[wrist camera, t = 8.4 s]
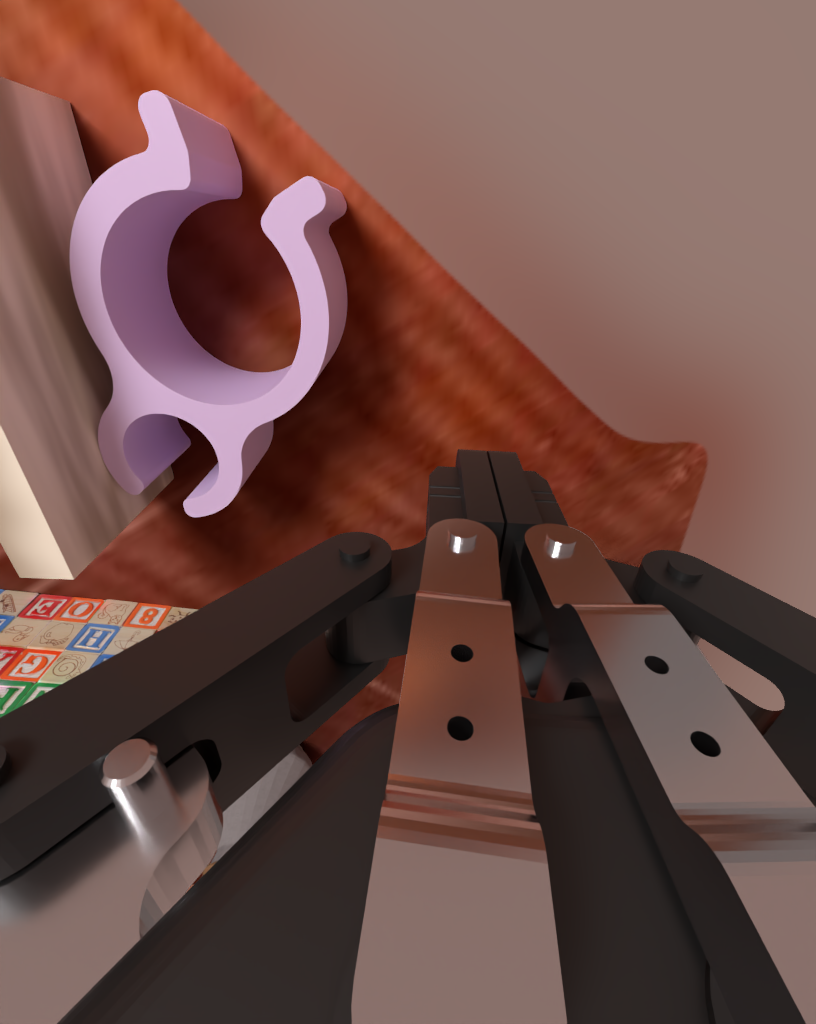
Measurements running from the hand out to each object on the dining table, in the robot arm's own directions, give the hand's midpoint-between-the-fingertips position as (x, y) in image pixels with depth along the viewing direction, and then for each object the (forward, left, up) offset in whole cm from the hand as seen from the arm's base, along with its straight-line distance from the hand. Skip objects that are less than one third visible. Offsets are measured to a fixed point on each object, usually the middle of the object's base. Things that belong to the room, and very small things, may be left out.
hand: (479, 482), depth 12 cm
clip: (+13, 0, -20) cm, 24 cm away
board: (+22, 0, -20) cm, 30 cm away
